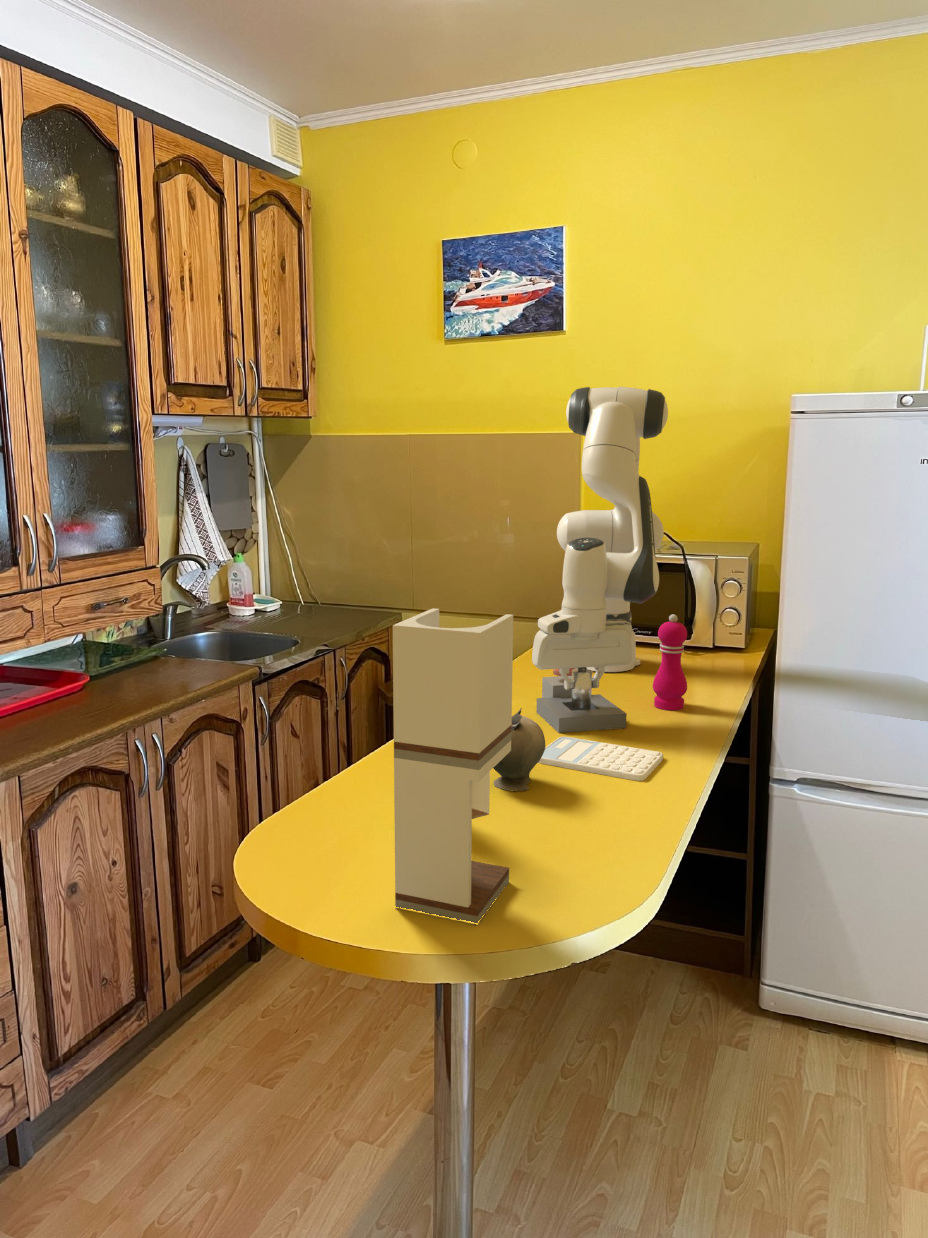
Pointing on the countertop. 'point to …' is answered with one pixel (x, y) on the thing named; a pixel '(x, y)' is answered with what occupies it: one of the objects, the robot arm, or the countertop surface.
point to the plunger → (556, 672)
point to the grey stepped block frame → (576, 709)
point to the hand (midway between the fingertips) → (581, 688)
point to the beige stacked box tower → (447, 759)
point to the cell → (581, 688)
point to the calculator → (601, 758)
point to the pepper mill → (670, 667)
